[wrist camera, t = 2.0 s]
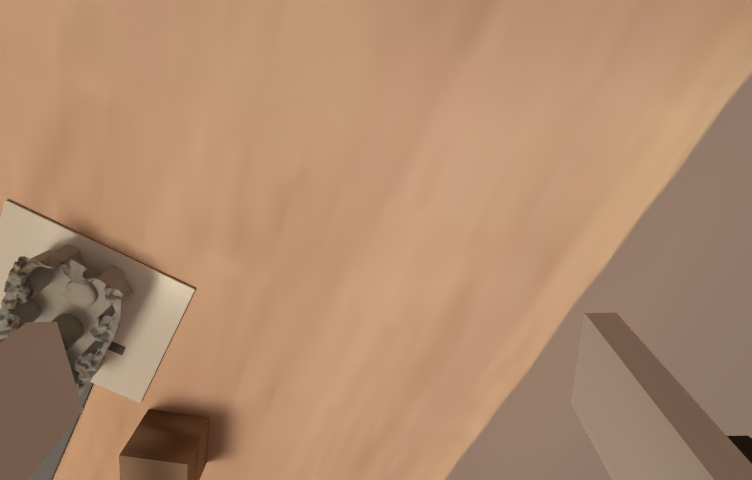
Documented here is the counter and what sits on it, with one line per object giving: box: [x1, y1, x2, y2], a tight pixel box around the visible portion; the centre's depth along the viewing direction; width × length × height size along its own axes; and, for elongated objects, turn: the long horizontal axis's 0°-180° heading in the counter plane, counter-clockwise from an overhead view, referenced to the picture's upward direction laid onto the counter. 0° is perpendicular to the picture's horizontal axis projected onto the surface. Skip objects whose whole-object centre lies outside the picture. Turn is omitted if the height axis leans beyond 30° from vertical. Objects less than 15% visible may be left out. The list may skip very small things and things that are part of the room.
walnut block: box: [119, 410, 209, 480], centre depth 40 cm, size 5×5×5 cm
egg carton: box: [0, 244, 134, 397], centre depth 35 cm, size 11×8×4 cm
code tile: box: [0, 200, 195, 403], centre depth 37 cm, size 14×12×1 cm
